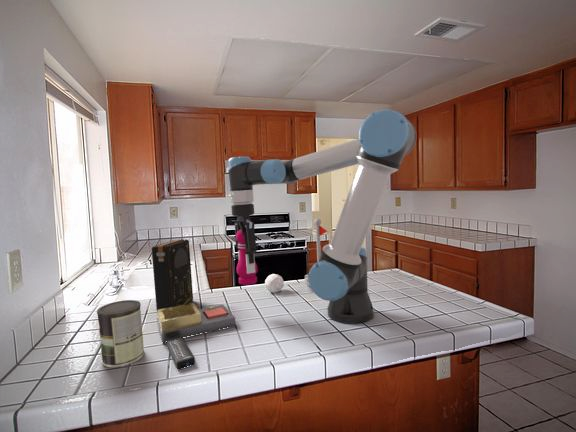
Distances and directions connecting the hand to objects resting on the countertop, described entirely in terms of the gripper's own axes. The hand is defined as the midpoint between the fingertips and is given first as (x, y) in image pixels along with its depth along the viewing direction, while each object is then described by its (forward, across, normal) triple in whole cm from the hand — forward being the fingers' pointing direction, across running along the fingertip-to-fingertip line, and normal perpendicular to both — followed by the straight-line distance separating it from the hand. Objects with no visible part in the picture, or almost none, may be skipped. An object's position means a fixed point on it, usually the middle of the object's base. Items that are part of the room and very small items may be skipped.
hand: (247, 270), depth 114 cm
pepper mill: (+4, 0, 0) cm, 4 cm away
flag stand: (+16, -12, +36) cm, 41 cm away
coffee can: (+16, +10, -39) cm, 43 cm away
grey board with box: (+15, 0, -18) cm, 24 cm away
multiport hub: (+16, +16, -26) cm, 35 cm away
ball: (+16, -18, +18) cm, 30 cm away
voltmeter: (+15, -24, -21) cm, 35 cm away
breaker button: (+15, 0, -12) cm, 19 cm away
